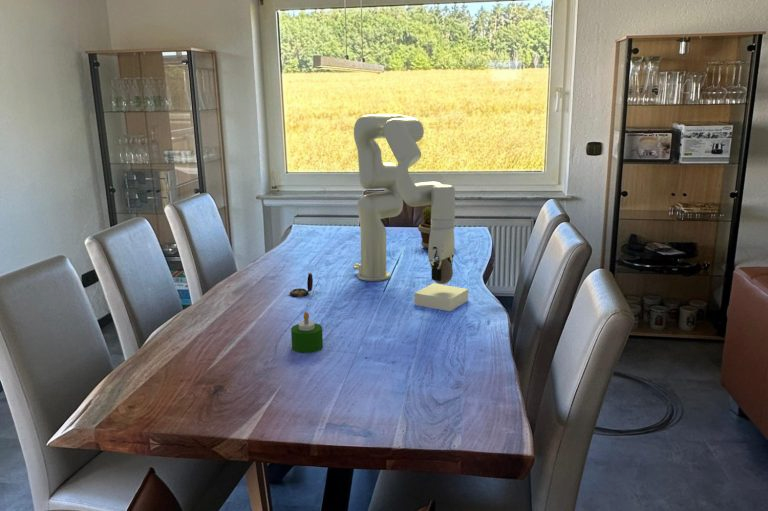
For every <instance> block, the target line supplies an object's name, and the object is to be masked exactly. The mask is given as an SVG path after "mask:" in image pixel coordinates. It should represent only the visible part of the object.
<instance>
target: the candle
mask: <svg viewBox="0 0 768 511" xmlns="http://www.w3.org/2000/svg"><path fill="white" fill-rule="evenodd" d="M309 318H310V315H309V313H308V312H307V311H306V312H305V311H304V314H303V321H299V322H298V323H297V324H294V325H293V326H292V327H291V330H290V333H291V334H290V335H291V336H290V337H291V349H292V350H293V351H294V353H295V352H296V353H299V354H300V353H302V354H310V353H311V354H312V353H316V352H320V350H322V349H323V347H324V346H323V345H324V344H323V342H324V341H323V326H322V325H321V324H319V323H315V321H313V320H309Z"/></svg>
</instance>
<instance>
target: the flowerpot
mask: <svg viewBox="0 0 768 511" xmlns="http://www.w3.org/2000/svg"><path fill="white" fill-rule="evenodd" d="M422 219H423V220H422V221H421V222H420V224H418V228H417V229H418V232H420V236H421V243H420V245H421V246H422V247H423V249H425V250H426V251H428V249H429V237H430V231H431V206H430V205H425V206H424V209H422Z"/></svg>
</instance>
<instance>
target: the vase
mask: <svg viewBox="0 0 768 511" xmlns="http://www.w3.org/2000/svg"><path fill="white" fill-rule="evenodd" d="M437 259H439V258H438V257H437ZM435 262H437V264H438V261H435ZM440 269H441V281H436V280H433V281H434V282H435V284H441V285H446V284H448V283H449V282H450V281H451V280H452V278H453V273H454V272H453V264H452V265H451V264H450V262H449V261H448V260H447V258H446V259H444V260H442V262H441V266H440ZM431 275H432V269H431Z"/></svg>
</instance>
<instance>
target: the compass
mask: <svg viewBox="0 0 768 511" xmlns="http://www.w3.org/2000/svg"><path fill="white" fill-rule="evenodd" d="M313 280H314V278H313V274H312V273H311V272H310V273H309V272H308V274H307V284H306V286H307V287H306V288H307V289H305V288H301V287H300V288H294V289H292V290H291V291H290V292H289V295H290V296H292V297H305V296H308V294H309V292H311V291H313V290H312V289H313V282H314V281H313Z"/></svg>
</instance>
